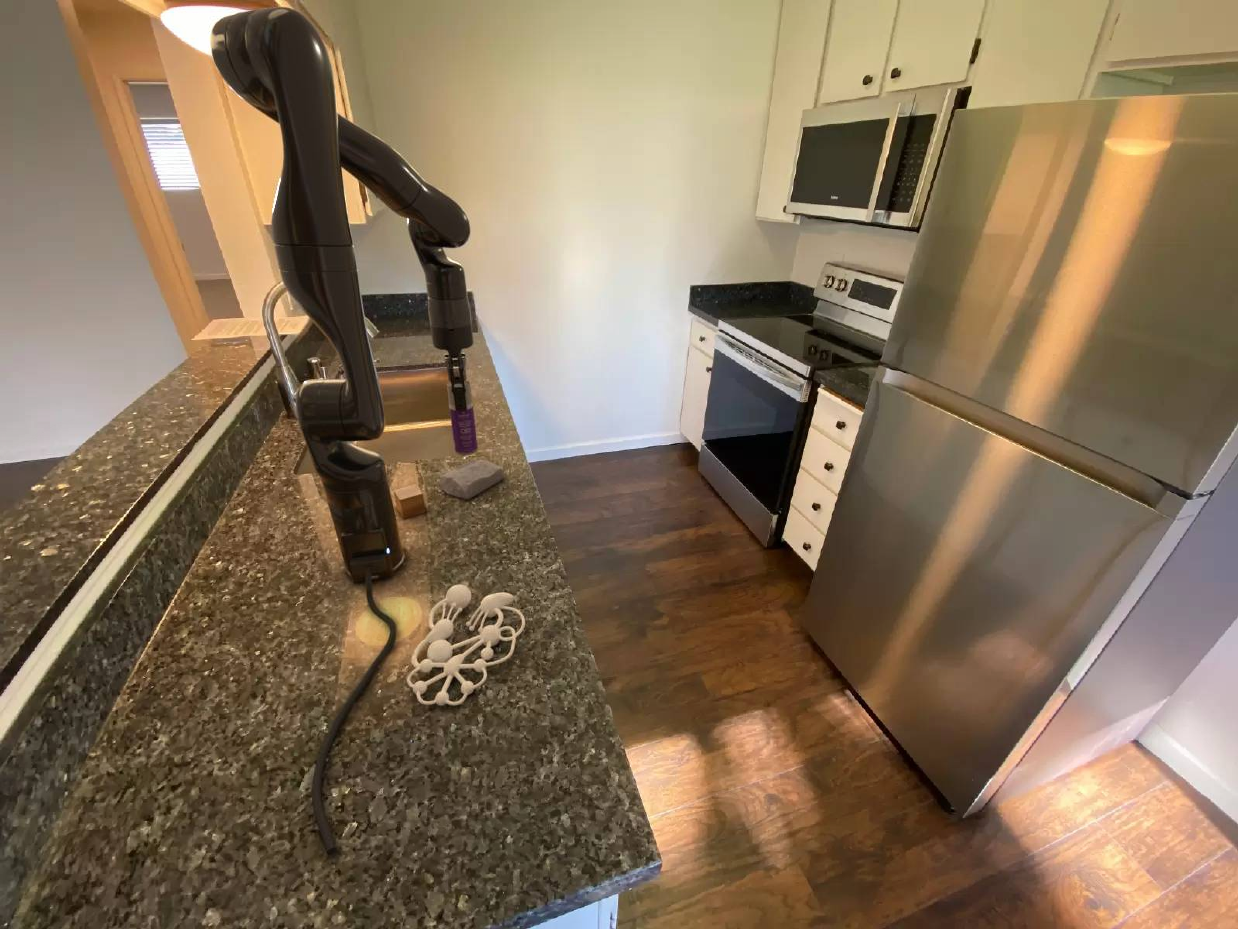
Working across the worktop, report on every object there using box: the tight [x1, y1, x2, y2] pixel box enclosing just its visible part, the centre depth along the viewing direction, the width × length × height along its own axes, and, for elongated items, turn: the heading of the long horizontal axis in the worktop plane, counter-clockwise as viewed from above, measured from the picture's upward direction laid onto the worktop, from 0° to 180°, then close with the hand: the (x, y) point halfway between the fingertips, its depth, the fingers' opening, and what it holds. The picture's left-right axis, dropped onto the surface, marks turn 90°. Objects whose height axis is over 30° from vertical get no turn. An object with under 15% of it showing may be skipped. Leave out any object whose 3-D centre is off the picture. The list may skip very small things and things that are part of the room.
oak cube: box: [392, 483, 427, 520], centre depth 104 cm, size 4×4×4 cm
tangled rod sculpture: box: [406, 583, 526, 707], centre depth 73 cm, size 19×14×4 cm
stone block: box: [439, 459, 505, 501], centre depth 114 cm, size 12×5×10 cm
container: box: [446, 380, 479, 456], centre depth 107 cm, size 5×5×15 cm
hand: (460, 405), depth 106 cm, fingers closed on container, 4 cm apart
